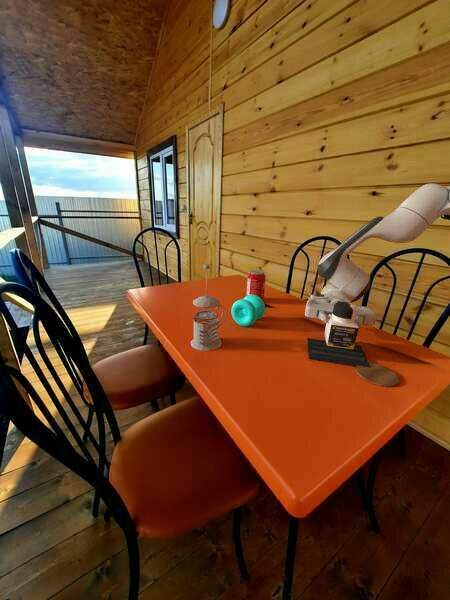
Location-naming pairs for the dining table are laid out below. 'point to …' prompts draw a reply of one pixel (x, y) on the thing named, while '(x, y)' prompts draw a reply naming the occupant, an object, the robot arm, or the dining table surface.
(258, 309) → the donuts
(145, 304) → the dining table surface
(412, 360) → the dining table surface
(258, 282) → the soda can
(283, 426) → the dining table surface
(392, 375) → the coaster
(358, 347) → the scrub mat
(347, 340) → the medicine bottle
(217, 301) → the french press
